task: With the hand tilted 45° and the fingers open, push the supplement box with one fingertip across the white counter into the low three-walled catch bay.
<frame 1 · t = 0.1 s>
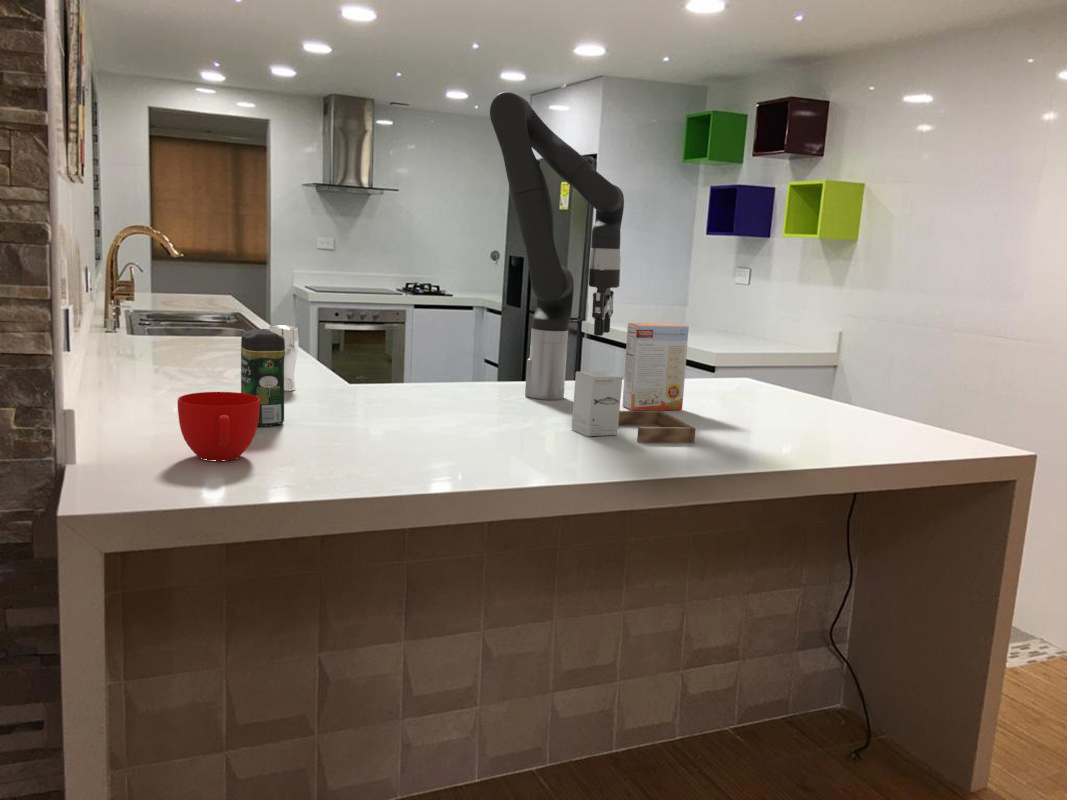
hand: (601, 334, 225), 17 cm above the countertop, tool pointing down, fingers open, 8 cm apart
catch bay: (647, 432, 195), on the countertop
cracker box: (651, 409, 225), on the countertop
beer glass: (282, 390, 219), on the countertop
coffee jar: (262, 423, 182), on the countertop
supplement box: (594, 433, 192), on the countertop
ceramic cup: (220, 461, 152), on the countertop
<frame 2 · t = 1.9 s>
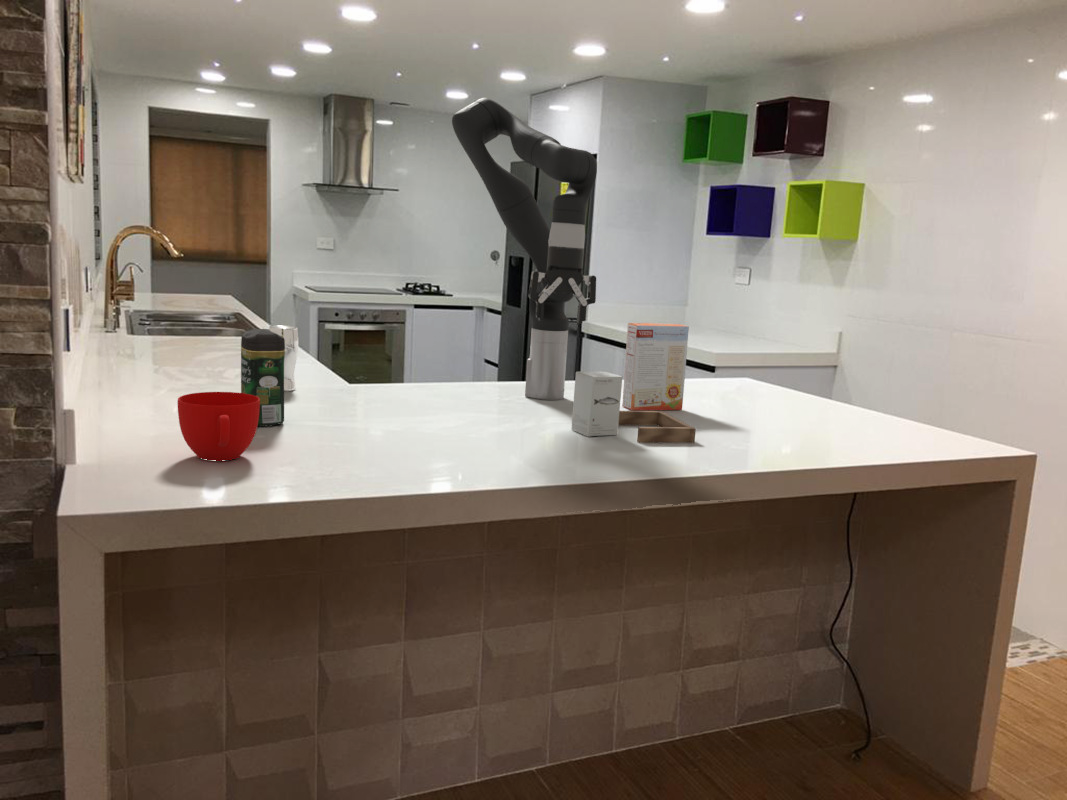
hand: (560, 321, 196), 22 cm above the countertop, tool pointing down, fingers open, 8 cm apart
nothing on the countertop moved.
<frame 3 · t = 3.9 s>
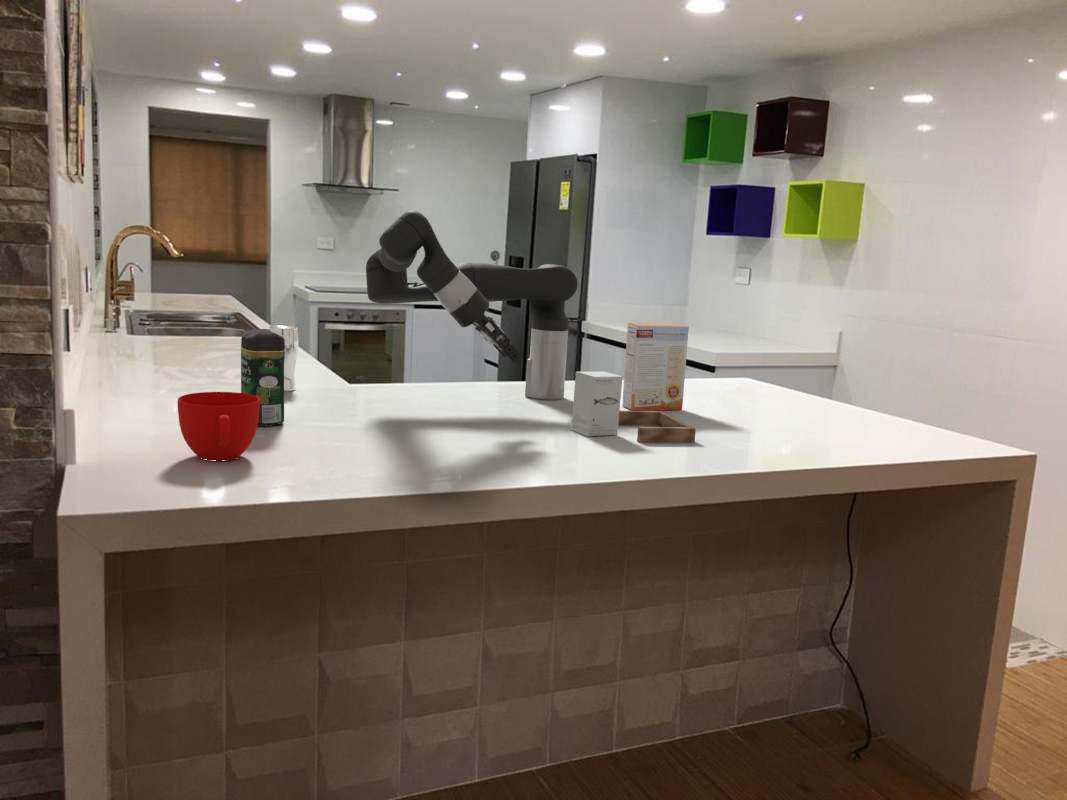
hand: (512, 357, 189), 15 cm above the countertop, tool tilted 45°, fingers open, 8 cm apart
nothing on the countertop moved.
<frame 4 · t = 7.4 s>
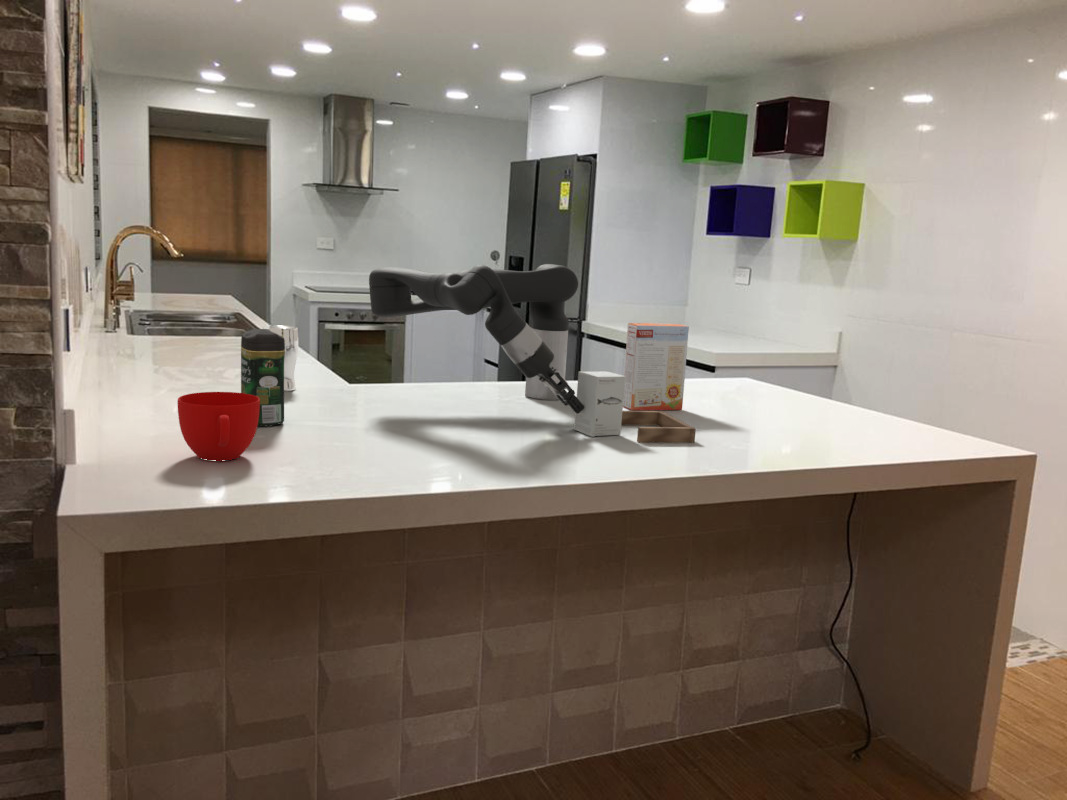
hand: (574, 406, 193), 5 cm above the countertop, tool tilted 45°, fingers open, 8 cm apart
supplement box: (597, 433, 192), on the countertop, touching gripper
everything else where it was.
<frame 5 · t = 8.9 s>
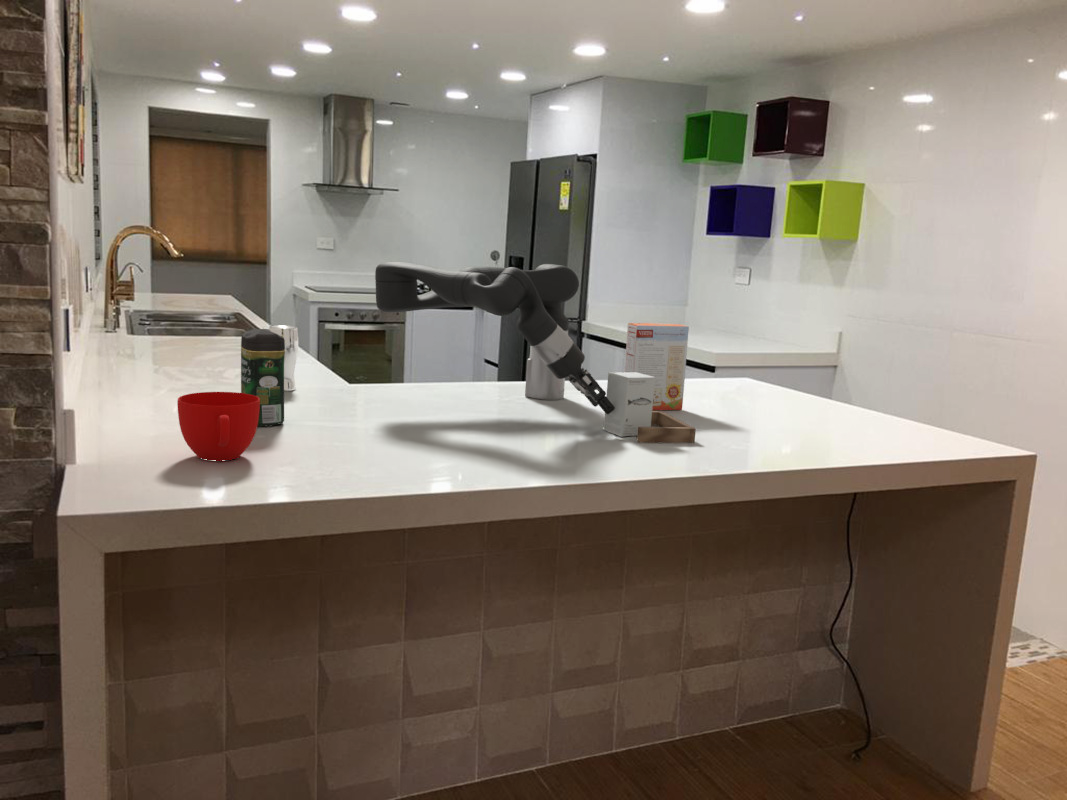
hand: (604, 407, 195), 5 cm above the countertop, tool tilted 45°, fingers open, 8 cm apart
supplement box: (626, 433, 194), on the countertop, touching gripper
everything else where it was.
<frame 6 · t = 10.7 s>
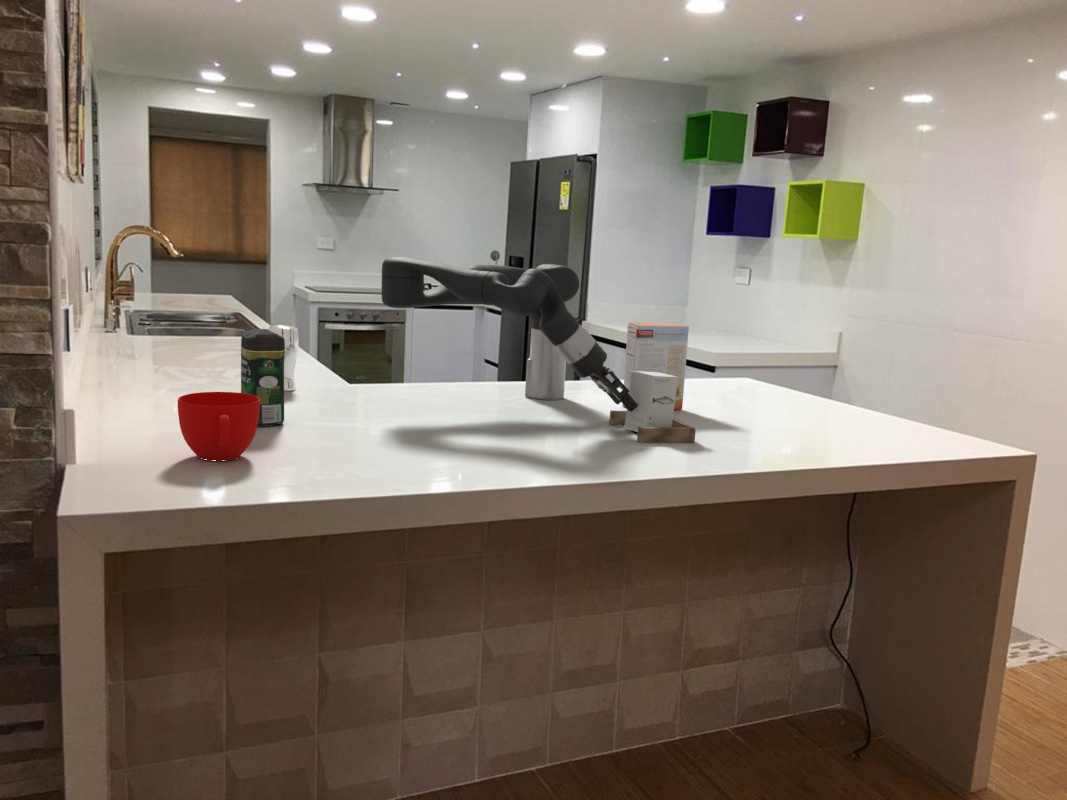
hand: (627, 405, 197), 5 cm above the countertop, tool tilted 45°, fingers open, 8 cm apart
supplement box: (647, 432, 196), on the countertop, touching gripper
everything else where it was.
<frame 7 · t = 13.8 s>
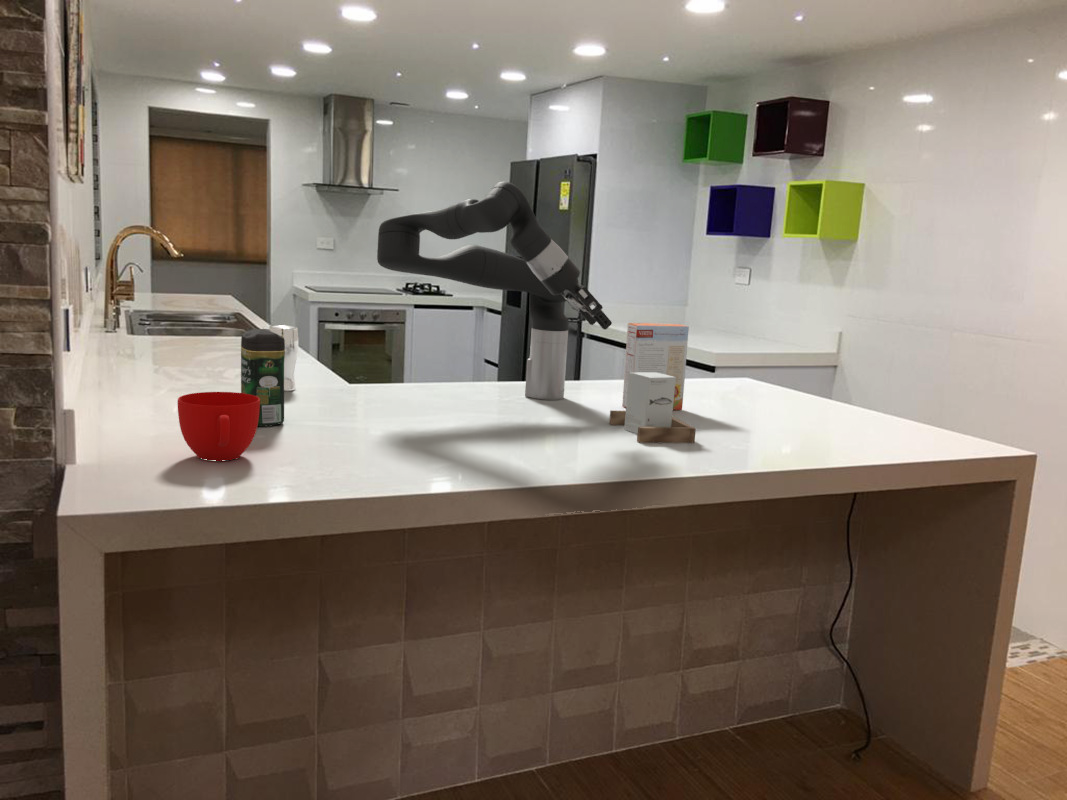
hand: (601, 324, 193), 22 cm above the countertop, tool tilted 45°, fingers open, 8 cm apart
supplement box: (647, 433, 196), on the countertop
everything else where it was.
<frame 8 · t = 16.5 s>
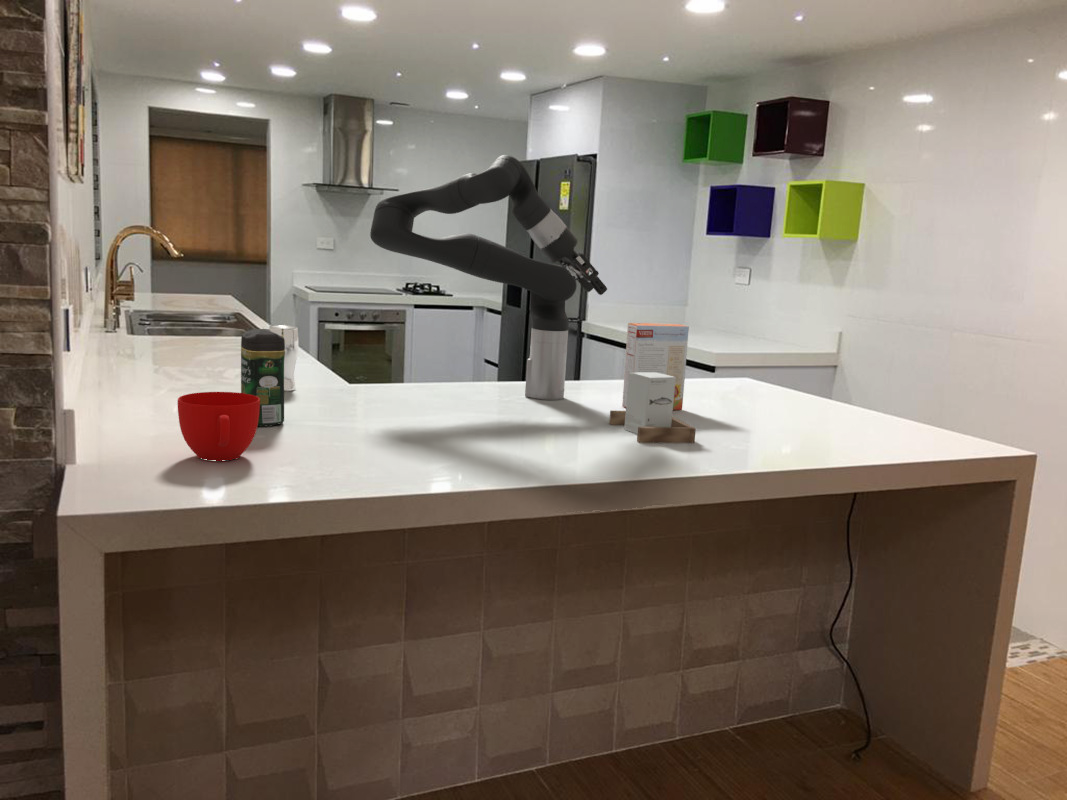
hand: (597, 290, 204), 29 cm above the countertop, tool tilted 45°, fingers open, 8 cm apart
nothing on the countertop moved.
at the end: supplement box inside the target area on the catch bay (0.7 cm from its centre), point 0.0 cm above the catch bay's base; supplement box tilted 0°; supplement box moved 12.2 cm from its start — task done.
